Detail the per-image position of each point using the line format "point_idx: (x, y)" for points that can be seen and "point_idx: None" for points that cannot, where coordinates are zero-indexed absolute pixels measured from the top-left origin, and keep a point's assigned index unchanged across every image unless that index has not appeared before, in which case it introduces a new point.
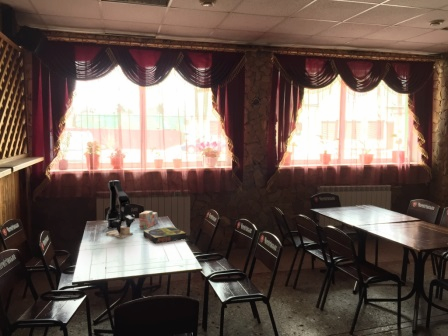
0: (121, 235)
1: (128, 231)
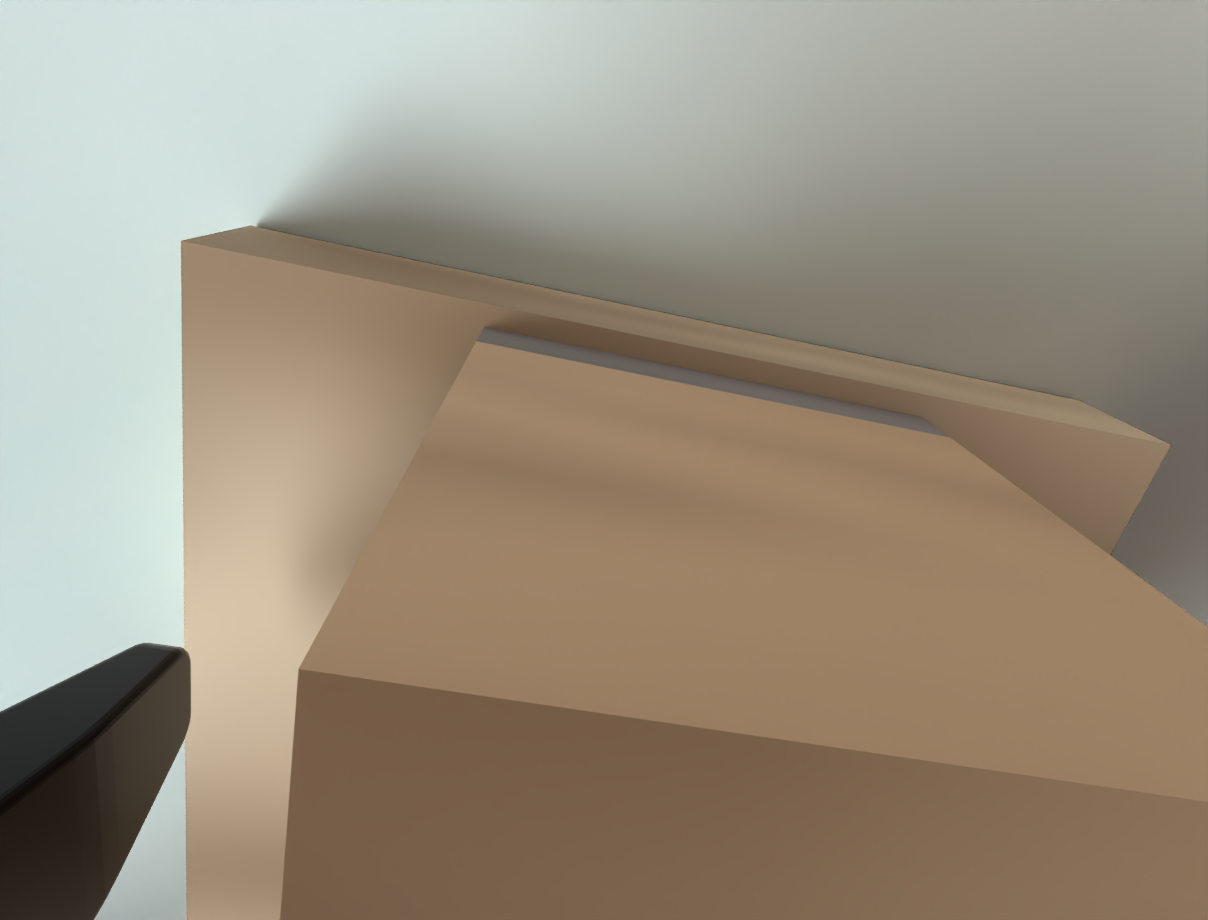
0: None
1: (648, 423)
